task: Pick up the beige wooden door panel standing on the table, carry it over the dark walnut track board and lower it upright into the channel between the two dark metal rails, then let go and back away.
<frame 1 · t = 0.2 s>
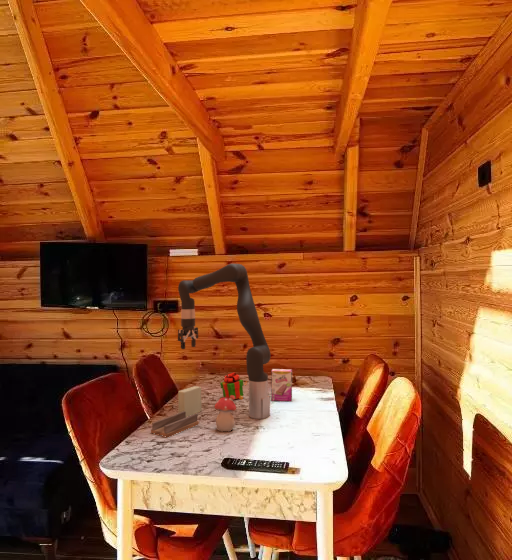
hand: (188, 347, 221), 29 cm above the table, tool pointing down, fingers open, 8 cm apart
gift box: (234, 399, 227), on the table
door panel: (190, 413, 202), on the table
candy bar box: (281, 400, 224), on the table
door track: (175, 428, 181), on the table
decorative ornament: (225, 430, 179), on the table
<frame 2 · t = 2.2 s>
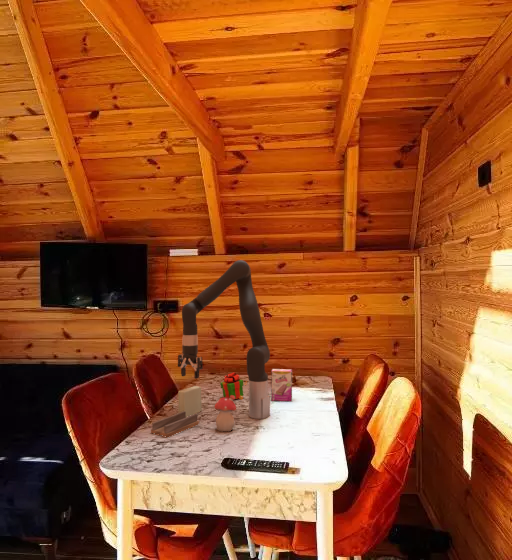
hand: (189, 377, 202), 18 cm above the table, tool pointing down, fingers open, 8 cm apart
nothing on the table moved.
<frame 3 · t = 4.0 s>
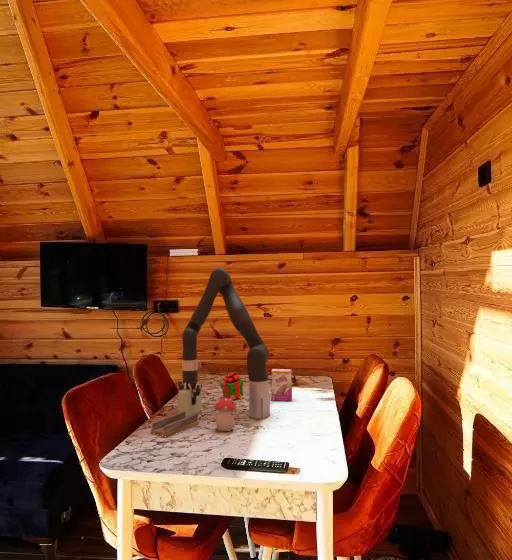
hand: (190, 403, 202), 5 cm above the table, tool pointing down, fingers closed on door panel, 4 cm apart
door panel: (190, 413, 202), on the table, touching gripper
everything else where it was.
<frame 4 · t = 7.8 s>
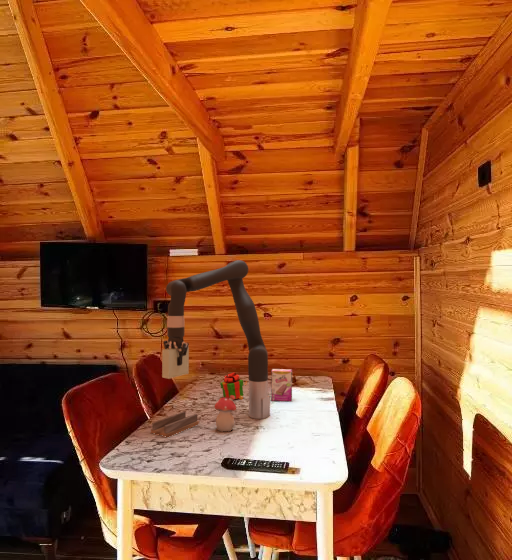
hand: (175, 364, 183), 28 cm above the table, tool pointing down, fingers closed on door panel, 4 cm apart
door panel: (175, 375, 183), point 23 cm above the table, touching gripper
everything else where it was.
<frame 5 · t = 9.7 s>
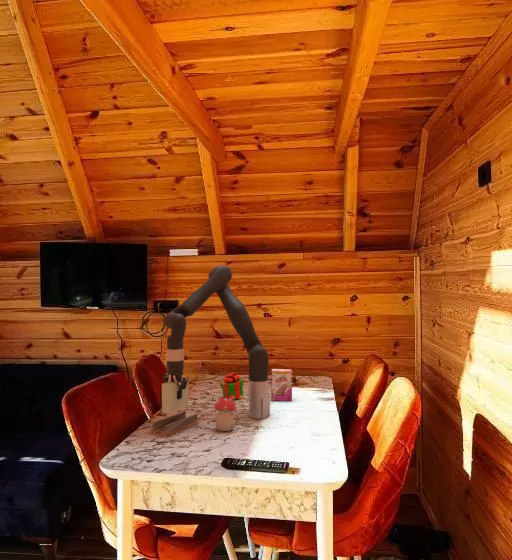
hand: (175, 398, 181), 13 cm above the table, tool pointing down, fingers closed on door panel, 4 cm apart
door panel: (175, 409, 181), point 9 cm above the table, touching gripper
everything else where it was.
when the fingers open (8 cm above the table, at t = 11.4 s): door panel drops 1 cm, resting on door track.
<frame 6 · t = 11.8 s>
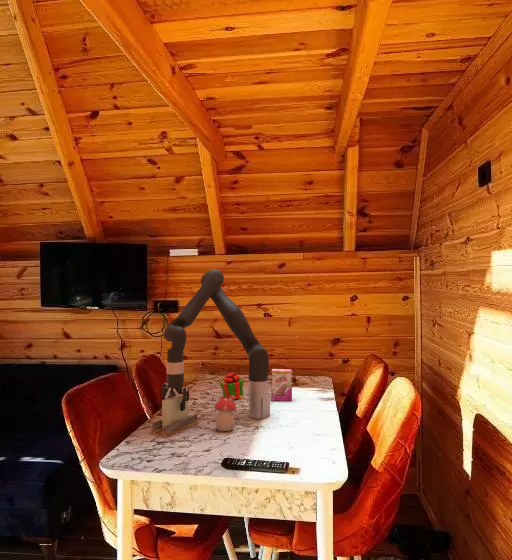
hand: (175, 409, 181), 9 cm above the table, tool pointing down, fingers open, 8 cm apart
door panel: (175, 425, 181), point 1 cm above the table, touching door track
everything else where it was.
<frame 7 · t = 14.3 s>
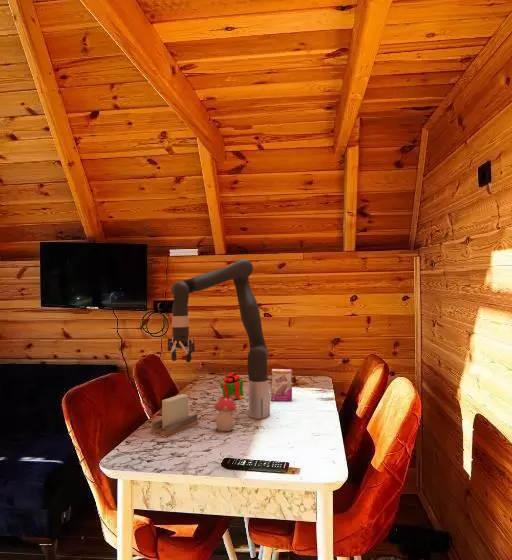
hand: (181, 361, 188), 28 cm above the table, tool pointing down, fingers open, 8 cm apart
nothing on the table moved.
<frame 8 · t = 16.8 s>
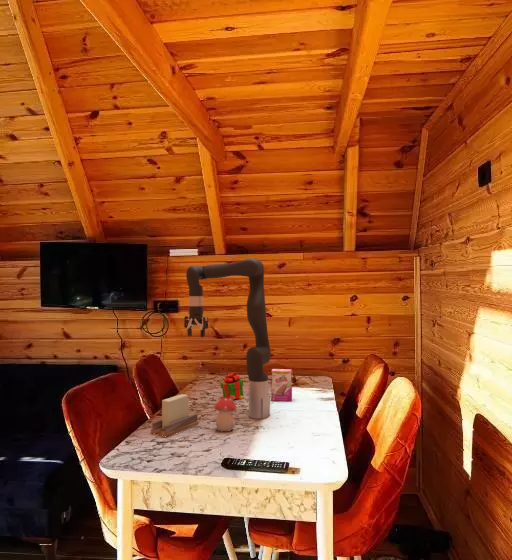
hand: (196, 336, 212), 36 cm above the table, tool pointing down, fingers open, 8 cm apart
nothing on the table moved.
at the end: door panel inside the target area on the door track (0.1 cm from its centre), point 1.5 cm above the door track's base; door panel tilted 0°; the gripper is holding nothing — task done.
